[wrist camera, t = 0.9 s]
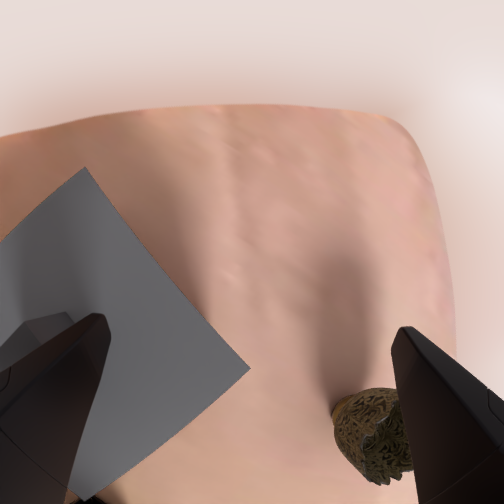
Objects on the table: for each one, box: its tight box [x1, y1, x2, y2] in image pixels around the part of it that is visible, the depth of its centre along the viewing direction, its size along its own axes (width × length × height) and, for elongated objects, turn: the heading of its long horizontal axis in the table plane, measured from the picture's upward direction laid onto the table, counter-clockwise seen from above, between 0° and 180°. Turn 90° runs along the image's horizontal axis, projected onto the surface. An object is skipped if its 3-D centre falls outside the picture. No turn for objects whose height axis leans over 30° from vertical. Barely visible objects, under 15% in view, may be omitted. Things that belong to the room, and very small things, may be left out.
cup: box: [332, 388, 413, 486], centre depth 20 cm, size 8×7×8 cm
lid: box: [0, 167, 251, 501], centre depth 10 cm, size 13×13×6 cm
